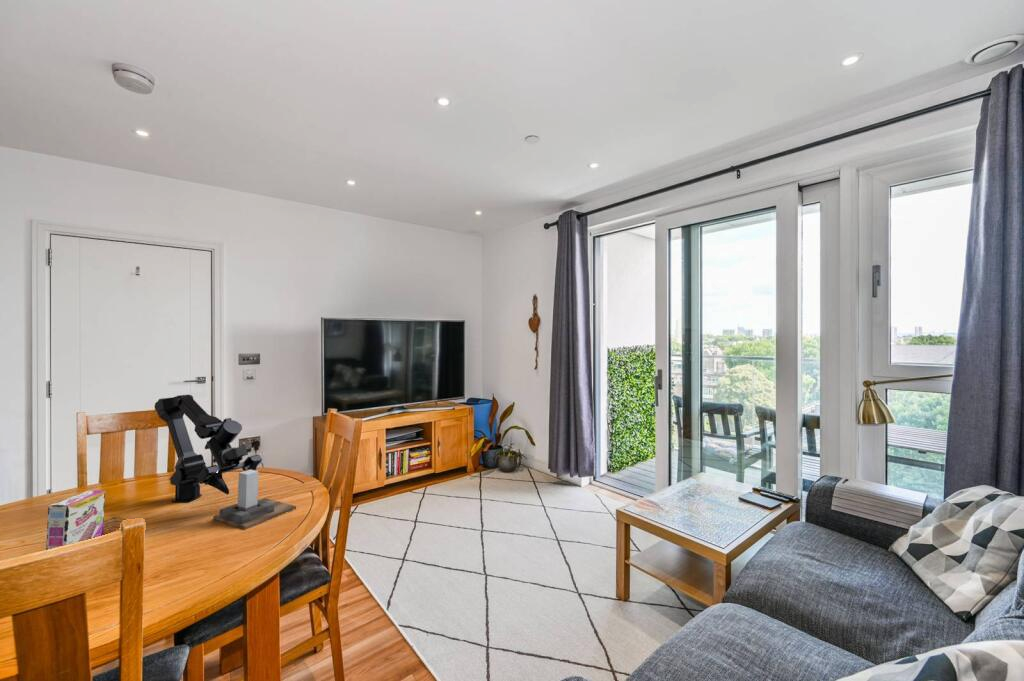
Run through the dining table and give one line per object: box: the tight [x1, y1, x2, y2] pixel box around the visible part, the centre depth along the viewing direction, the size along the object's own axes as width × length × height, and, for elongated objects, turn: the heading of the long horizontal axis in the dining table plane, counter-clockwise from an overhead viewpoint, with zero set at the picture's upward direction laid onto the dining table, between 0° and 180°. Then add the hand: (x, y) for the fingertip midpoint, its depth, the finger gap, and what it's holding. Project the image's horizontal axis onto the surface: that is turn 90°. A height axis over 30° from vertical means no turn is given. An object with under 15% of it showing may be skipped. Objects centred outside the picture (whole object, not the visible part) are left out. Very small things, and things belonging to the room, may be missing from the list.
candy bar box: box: [45, 490, 106, 551], centre depth 112 cm, size 11×5×16 cm, turn 5°
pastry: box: [103, 515, 127, 535], centre depth 127 cm, size 9×7×4 cm
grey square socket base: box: [212, 497, 297, 530], centre depth 143 cm, size 16×18×4 cm
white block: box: [237, 469, 259, 512], centre depth 140 cm, size 4×4×14 cm
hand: (242, 489), depth 142 cm, fingers open, 9 cm apart
